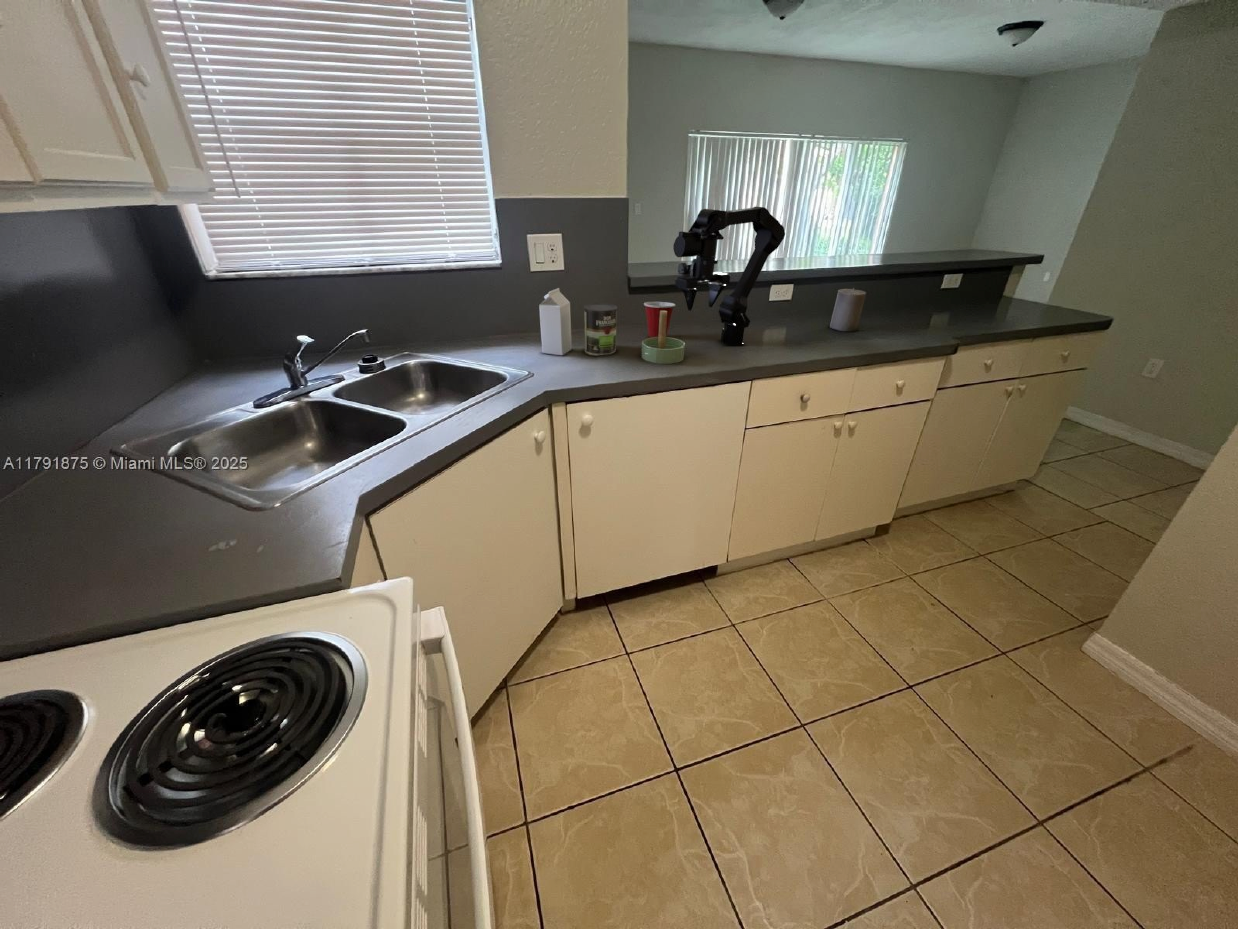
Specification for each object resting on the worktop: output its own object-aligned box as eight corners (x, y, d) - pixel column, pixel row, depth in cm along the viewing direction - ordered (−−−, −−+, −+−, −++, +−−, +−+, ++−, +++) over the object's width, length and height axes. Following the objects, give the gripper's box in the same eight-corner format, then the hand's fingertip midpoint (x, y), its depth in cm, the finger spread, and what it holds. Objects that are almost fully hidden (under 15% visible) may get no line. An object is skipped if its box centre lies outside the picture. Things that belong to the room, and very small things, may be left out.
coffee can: (621, 353, 155) (622, 308, 148) (592, 358, 151) (592, 311, 144) (607, 344, 163) (608, 301, 156) (579, 348, 159) (578, 304, 152)
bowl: (679, 351, 158) (680, 336, 155) (687, 365, 147) (688, 349, 144) (638, 352, 157) (639, 336, 154) (644, 366, 146) (644, 349, 143)
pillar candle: (853, 326, 190) (864, 286, 183) (858, 332, 182) (869, 291, 174) (827, 324, 192) (837, 284, 184) (831, 330, 184) (841, 289, 176)
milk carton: (571, 349, 158) (569, 288, 148) (562, 356, 152) (559, 293, 142) (551, 347, 160) (548, 286, 150) (542, 353, 154) (538, 291, 144)
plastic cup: (672, 334, 176) (675, 299, 170) (672, 342, 167) (675, 306, 161) (643, 332, 177) (644, 298, 171) (641, 341, 167) (642, 305, 161)
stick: (668, 354, 154) (671, 309, 146) (669, 359, 149) (672, 313, 142) (652, 354, 154) (654, 309, 146) (653, 359, 149) (655, 313, 142)
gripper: (708, 251, 157) (703, 300, 165) (665, 254, 148) (661, 306, 155) (734, 255, 150) (727, 307, 157) (690, 259, 140) (685, 314, 148)
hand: (700, 308), depth 155 cm, fingers open, 9 cm apart
